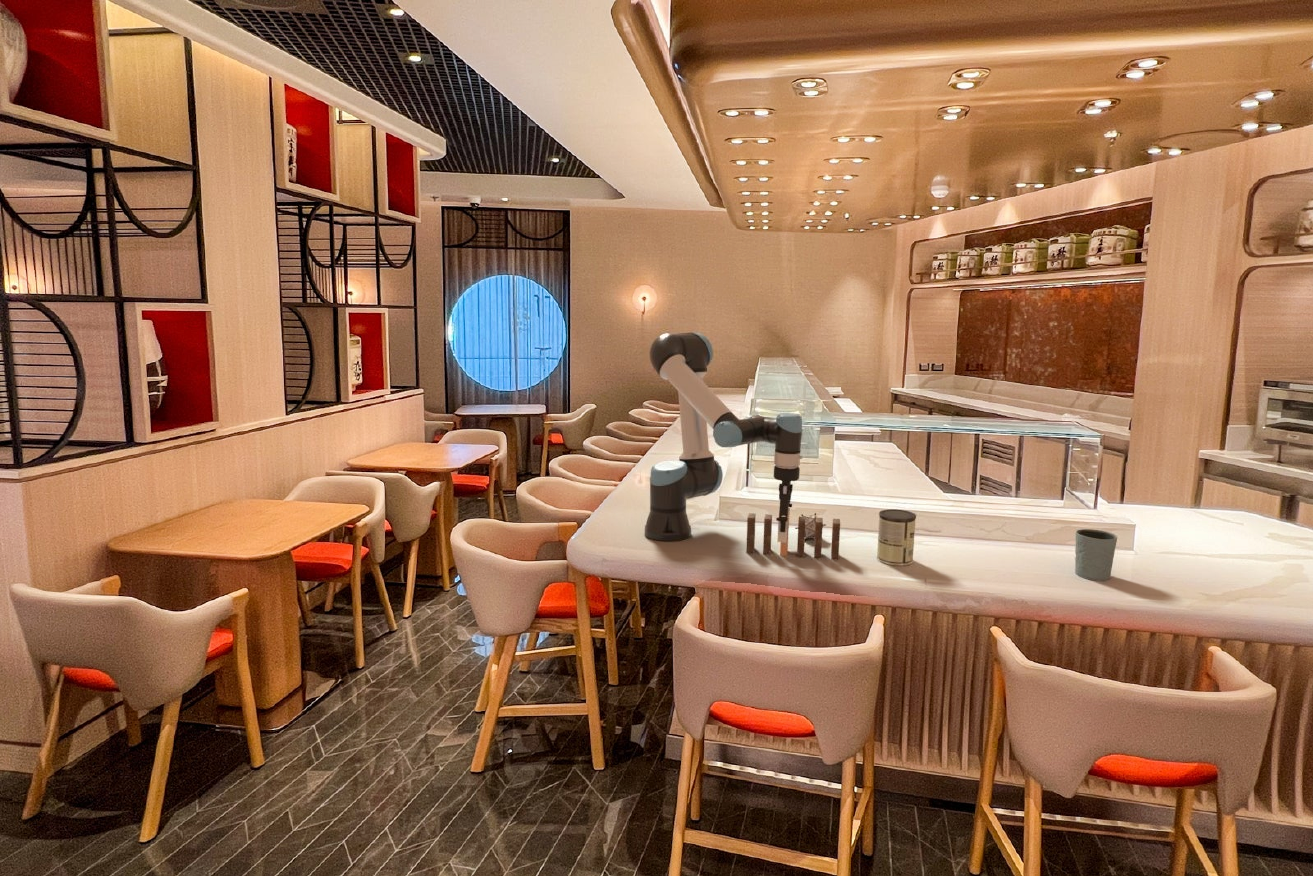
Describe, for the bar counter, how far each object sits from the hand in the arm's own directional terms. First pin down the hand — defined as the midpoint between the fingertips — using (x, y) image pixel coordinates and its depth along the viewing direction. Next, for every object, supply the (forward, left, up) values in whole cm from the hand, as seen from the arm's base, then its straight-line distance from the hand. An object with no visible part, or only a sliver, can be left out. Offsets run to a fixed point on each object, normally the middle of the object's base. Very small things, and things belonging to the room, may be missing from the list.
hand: (783, 534), depth 229 cm
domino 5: (+9, +5, -6) cm, 12 cm away
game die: (-1, +18, -6) cm, 19 cm away
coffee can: (+28, +17, -6) cm, 33 cm away
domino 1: (-8, -5, -6) cm, 11 cm away
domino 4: (+5, +2, -6) cm, 8 cm away
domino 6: (+13, +7, -6) cm, 16 cm away
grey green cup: (+74, +43, -6) cm, 86 cm away
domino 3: (0, 0, -6) cm, 6 cm away
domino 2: (-4, -3, -6) cm, 7 cm away
